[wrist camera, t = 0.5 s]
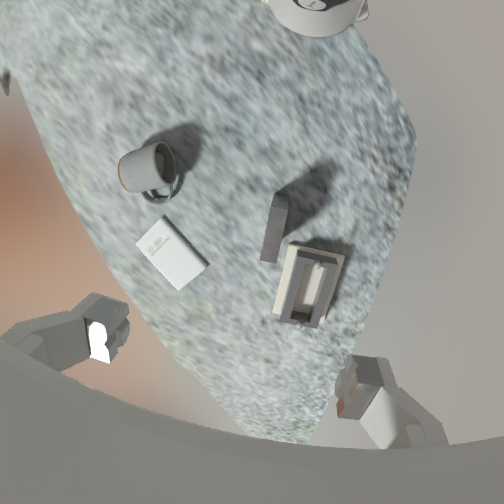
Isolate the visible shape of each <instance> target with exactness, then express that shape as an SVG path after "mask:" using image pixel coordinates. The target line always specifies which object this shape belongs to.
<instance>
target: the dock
mask: <svg viewBox="0 0 504 504" xmlns="http://www.w3.org/2000/svg"><path fill="white" fill-rule="evenodd" d="M344 259H345V257H344V255H340V254H336V253H332V252H327V251H323V250H318V249H314V248H309V247H305V246H300V245H296V244H291V243H289V246H288V251H287V255H286V259H285V263H284V267H283V271H282V275H281V279H280V283H279V287H278V291H277V295H276V299H275V303H274V307H273V311H272V313H274V314H279V315H280V322H285V323H290V324H295V325H296V327H297V328H298V329H301V328H302V326H306V327H311V328H316V329H317V327H318V324H319V323H323V321H324V318H325V315H326V313H327V310H328V307H329V304H330V301H331V298H332V295H333V293H334V290H335V287H336V284H337V281H338V277H339V274H340V271H341V268H342V265H343V262H344Z"/></svg>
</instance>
